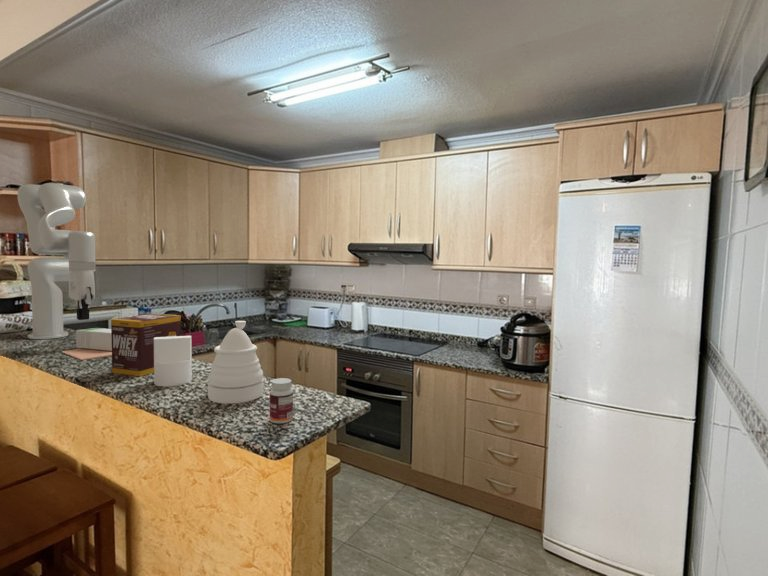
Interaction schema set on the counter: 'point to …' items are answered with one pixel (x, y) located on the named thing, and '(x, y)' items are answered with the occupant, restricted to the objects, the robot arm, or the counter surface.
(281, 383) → the pill bottle
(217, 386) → the honey pot
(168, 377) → the cylinder with rectangular tab
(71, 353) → the mat
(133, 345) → the supplement box
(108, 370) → the counter surface
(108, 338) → the skincare box
